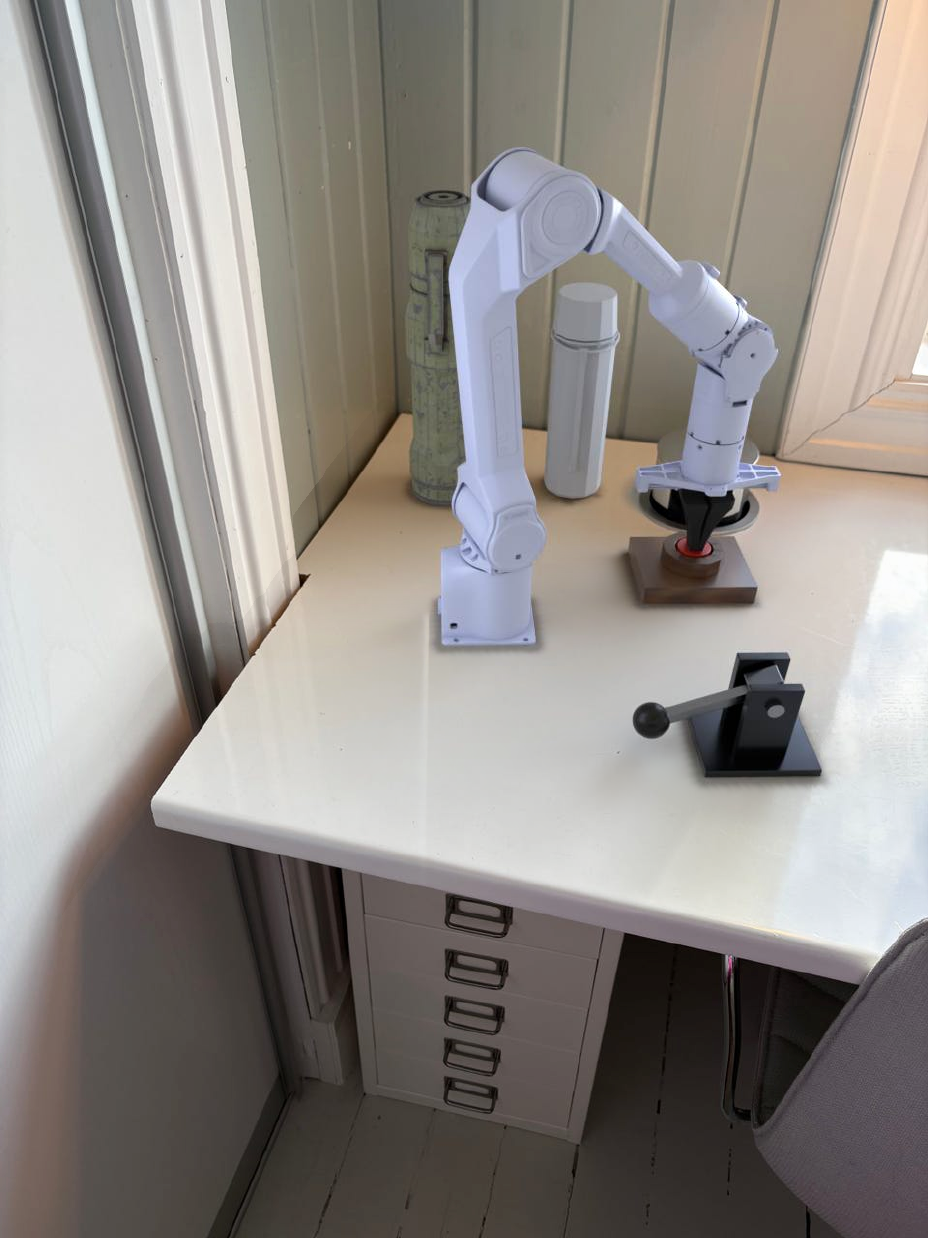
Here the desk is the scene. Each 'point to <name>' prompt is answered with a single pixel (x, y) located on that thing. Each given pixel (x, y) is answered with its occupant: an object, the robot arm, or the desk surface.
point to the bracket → (756, 728)
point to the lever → (697, 704)
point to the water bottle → (580, 388)
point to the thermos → (434, 346)
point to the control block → (690, 572)
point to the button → (684, 550)
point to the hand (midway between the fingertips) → (694, 546)
